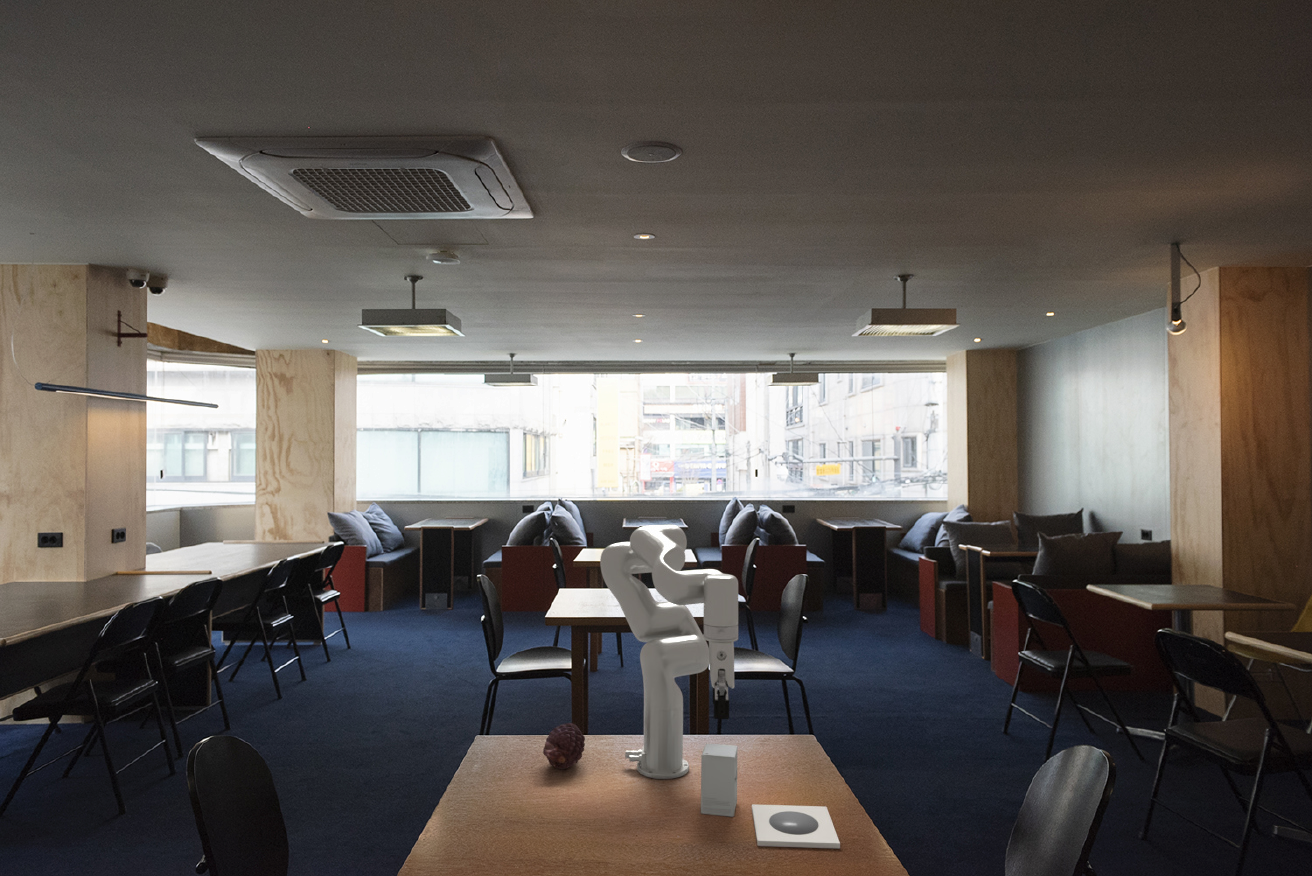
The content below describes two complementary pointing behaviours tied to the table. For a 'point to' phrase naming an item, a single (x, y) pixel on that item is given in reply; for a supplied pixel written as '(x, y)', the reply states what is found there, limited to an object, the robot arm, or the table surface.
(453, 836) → the table surface
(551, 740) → the pine cone
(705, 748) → the supplement box
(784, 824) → the mat
